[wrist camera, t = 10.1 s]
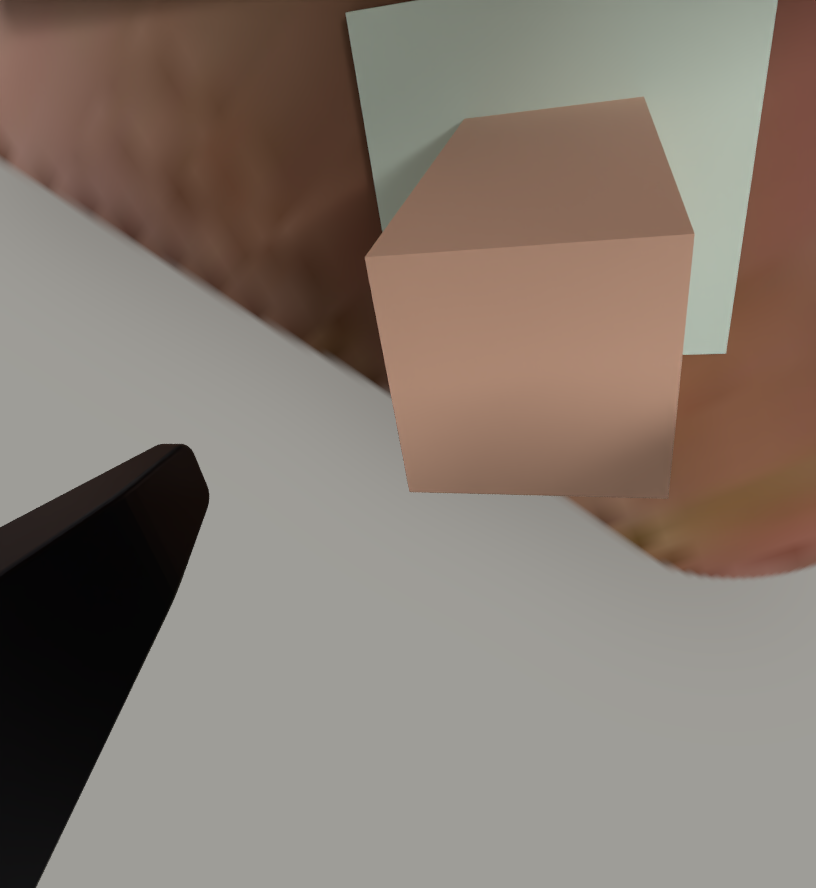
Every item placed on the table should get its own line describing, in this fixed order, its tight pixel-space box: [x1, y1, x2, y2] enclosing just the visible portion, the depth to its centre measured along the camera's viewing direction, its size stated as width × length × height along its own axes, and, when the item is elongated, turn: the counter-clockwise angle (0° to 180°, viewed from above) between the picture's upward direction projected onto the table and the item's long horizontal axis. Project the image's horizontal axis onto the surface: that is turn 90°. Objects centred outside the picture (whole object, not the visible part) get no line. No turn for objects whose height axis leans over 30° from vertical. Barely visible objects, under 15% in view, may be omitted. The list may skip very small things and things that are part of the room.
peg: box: [365, 97, 695, 499], centre depth 14 cm, size 4×4×10 cm
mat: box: [346, 0, 778, 355], centre depth 18 cm, size 10×10×1 cm
